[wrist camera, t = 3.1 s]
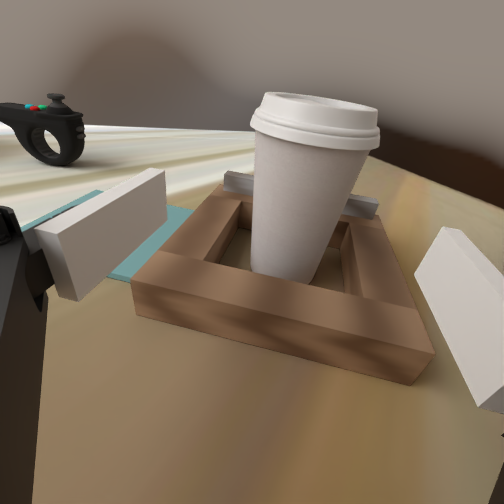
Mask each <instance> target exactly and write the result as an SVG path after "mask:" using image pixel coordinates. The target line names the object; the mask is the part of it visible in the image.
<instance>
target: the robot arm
mask: <svg viewBox="0 0 504 504" xmlns="http://www.w3.org/2000/svg"><path fill="white" fill-rule="evenodd" d="M166 221H167V201H166V182H165V170H160V169H155V168H149V169H147V170H145V171H143V172H141V173H139V174H137V175H135V176H133V177H131V178H129V179H128V180H126V181H124V182H122V183H120V184H118V185H116V186H114V187H112V188H110V189H108V190H106V191H105V192H103V193H101V194H99V195H97V196H95V197H93V198H91V199H89V200H87V201H85V202H83V203H81V204H78V205H75V206H72V207H70V208H68V209H66V210H64V211H62V212H61V213H58V214H56V215H54V216H52V218H48V219H46V220H44V221H42V222H40V223H38V224H36V225H35V226H33V227H31V228H29V229H27V230H25V231H23V232H22V231H21V228H20V226H19V223H18V221H17V218H16V216H15V213H14V211H13V209H11V208H9V207H5V206H0V504H32V493H33V481H34V469H35V457H36V444H37V432H38V420H39V408H40V395H41V383H42V371H43V359H44V346H45V334H46V322H47V310H48V296H47V293H46V290H47V289H48V288H50V287H51V286H52V285H53V284H55V287H56V290H57V292H58V295H59V297H62V298H66V299H69V300H73V301H77V302H79V301H80V300H82V299H83V298H84V297H85V296H86V295H87V294H88V293H89V292H90V291H91V290H92V289H93V288H95V287H96V286H97V285H98V284H99V283H100V282H101V281H102V280H103V279H104V278H105V277H106V276H108V275H109V274H110V273H111V272H112V271H113V270H114V269H115V268H116V267H117V266H118V265H119V264H121V263H122V262H123V261H124V260H125V259H126V258H127V257H128V256H129V255H130V254H131V253H132V252H133V251H135V250H136V249H137V248H138V247H139V246H140V245H141V244H142V243H143V242H144V241H145V240H146V239H148V238H149V237H150V236H151V235H152V234H153V233H154V232H155V231H156V230H157V229H158V228H159V227H161V226H162V225H163V224H164V223H165V222H166ZM414 276H415V278H416V280H417V282H418V284H419V286H420V288H421V290H422V292H423V295H424V297H425V299H426V301H427V303H428V305H429V307H430V309H431V311H432V313H433V315H434V317H435V319H436V322H437V324H438V326H439V328H440V330H441V332H442V334H443V336H444V338H445V340H446V342H447V344H448V347H449V349H450V351H451V353H452V355H453V357H454V359H455V361H456V363H457V365H458V367H459V369H460V371H461V374H462V376H463V378H464V380H465V382H466V384H467V386H468V388H469V390H470V392H471V394H472V396H473V398H474V401H475V403H476V405H477V407H479V408H482V409H486V410H490V411H494V412H498V413H501V414H504V276H503V275H502V274H501V273H500V272H499V271H498V269H497V268H496V267H495V266H494V265H493V264H492V263H491V262H490V261H489V260H488V259H487V258H486V257H485V256H484V254H483V253H482V252H481V251H480V250H479V249H478V248H477V247H476V246H475V245H474V244H473V243H472V242H471V241H470V239H469V238H468V237H467V236H466V235H465V234H464V233H463V232H462V231H461V230H459V229H454V228H449V227H444V226H442V228H441V230H440V231H439V233H438V235H437V236H436V238H435V240H434V241H433V243H432V245H431V246H430V248H429V250H428V251H427V253H426V255H425V257H424V258H423V260H422V262H421V263H420V265H419V267H418V268H417V270H416V272H415V273H414ZM501 436H503V437H504V433H503V434H502V435H501ZM488 504H504V463H503V466H502V468H501V471H500V474H499V476H498V479H497V482H496V484H495V487H494V490H493V492H492V495H491V498H490V500H489V503H488Z"/></svg>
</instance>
